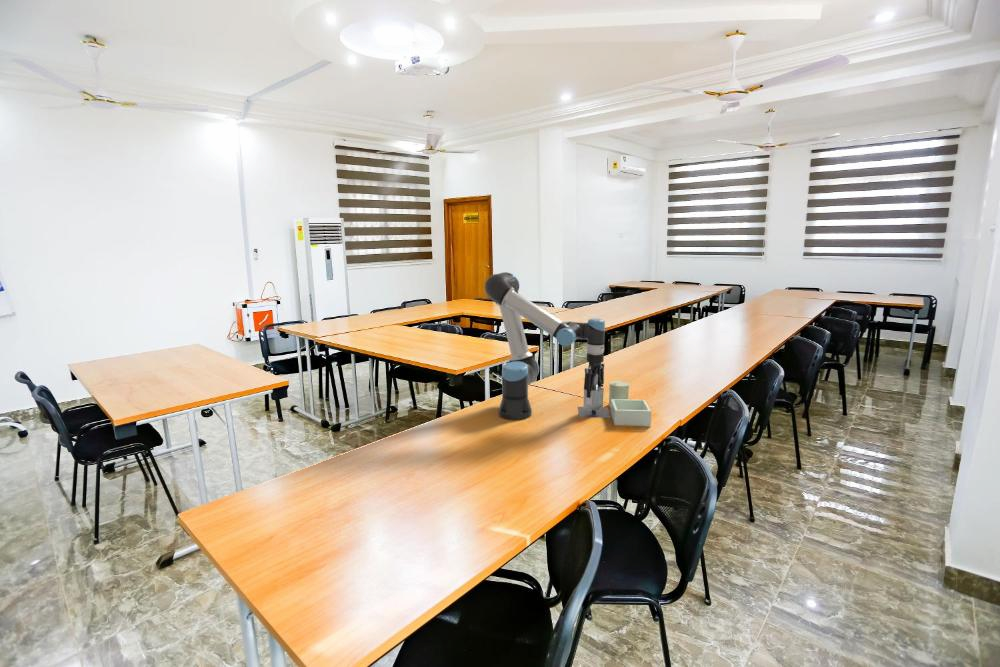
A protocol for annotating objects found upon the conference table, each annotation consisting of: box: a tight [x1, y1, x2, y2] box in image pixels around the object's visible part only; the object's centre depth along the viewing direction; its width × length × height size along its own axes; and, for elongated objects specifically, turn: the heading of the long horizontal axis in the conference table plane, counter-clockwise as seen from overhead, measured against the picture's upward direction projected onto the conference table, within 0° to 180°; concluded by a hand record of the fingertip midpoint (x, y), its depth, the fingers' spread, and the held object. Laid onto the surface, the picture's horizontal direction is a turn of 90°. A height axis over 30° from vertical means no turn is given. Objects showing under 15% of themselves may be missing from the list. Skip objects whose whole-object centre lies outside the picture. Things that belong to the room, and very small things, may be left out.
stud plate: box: [577, 406, 612, 419], centre depth 227 cm, size 14×14×8 cm
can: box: [608, 380, 630, 408], centre depth 235 cm, size 9×9×12 cm
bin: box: [610, 398, 652, 428], centre depth 218 cm, size 15×15×7 cm
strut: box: [582, 373, 604, 411], centre depth 226 cm, size 6×6×16 cm
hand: (593, 401), depth 227 cm, fingers closed on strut, 6 cm apart
